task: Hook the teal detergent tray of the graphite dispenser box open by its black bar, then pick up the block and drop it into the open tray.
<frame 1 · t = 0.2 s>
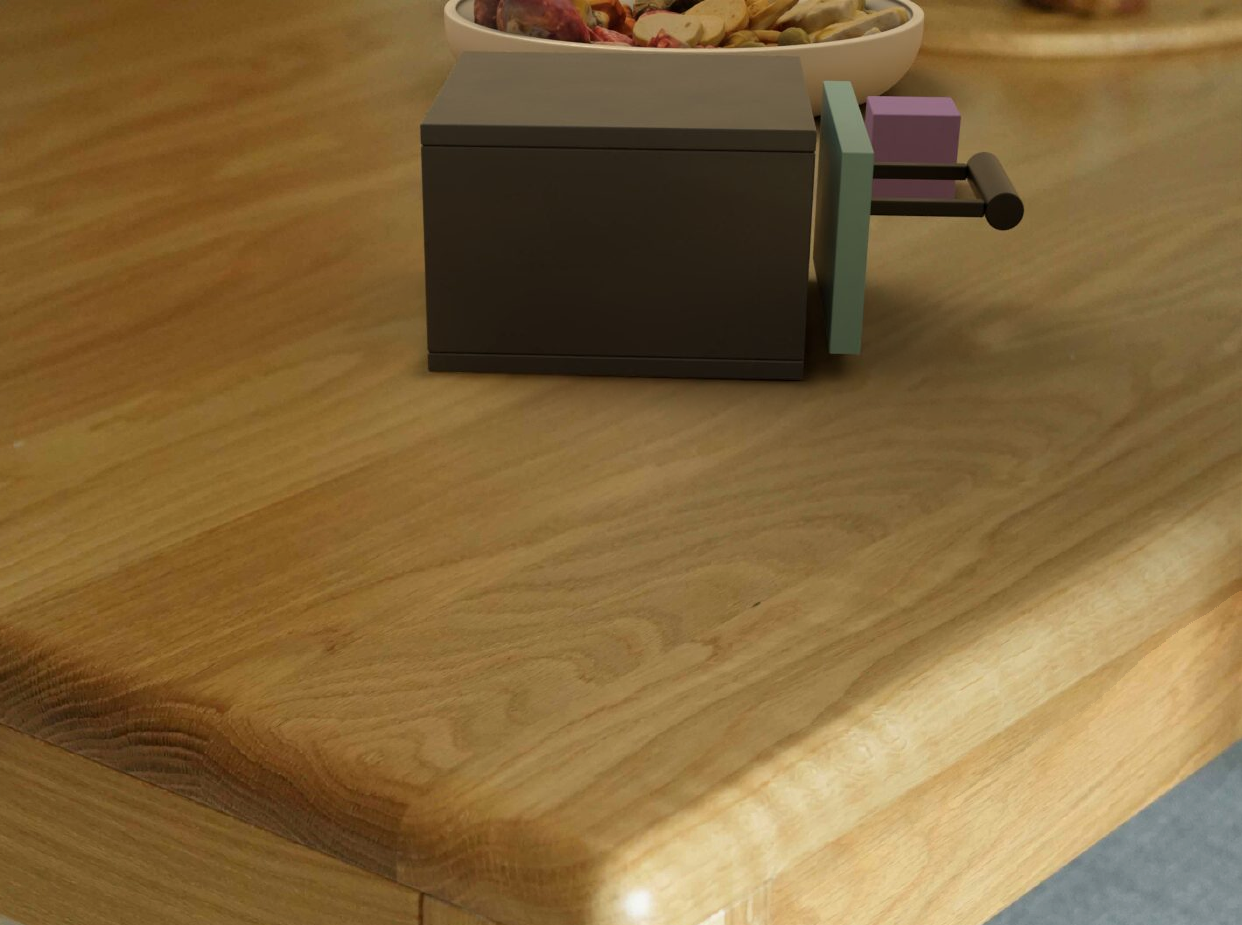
drawer: (766, 209, 82), point 5 cm above the table, slide at 1.0 cm
block: (906, 190, 104), on the table
bowl: (681, 90, 128), on the table
cabinet: (621, 319, 84), on the table
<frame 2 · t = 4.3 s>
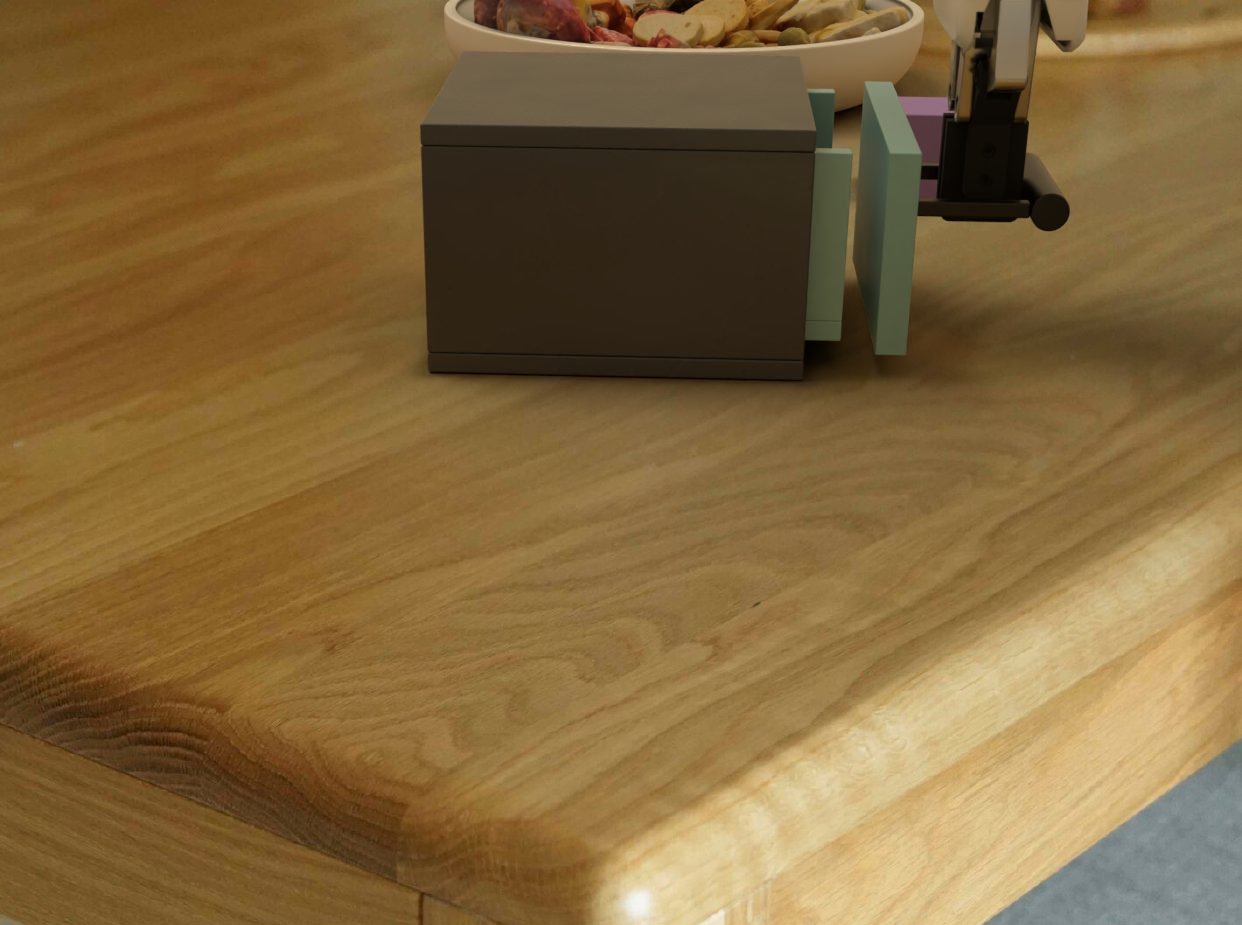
hand: (976, 215, 81), 5 cm above the table, tool pointing down, fingers closed
drawer: (809, 210, 82), point 5 cm above the table, slide at 2.8 cm
everything else where it was.
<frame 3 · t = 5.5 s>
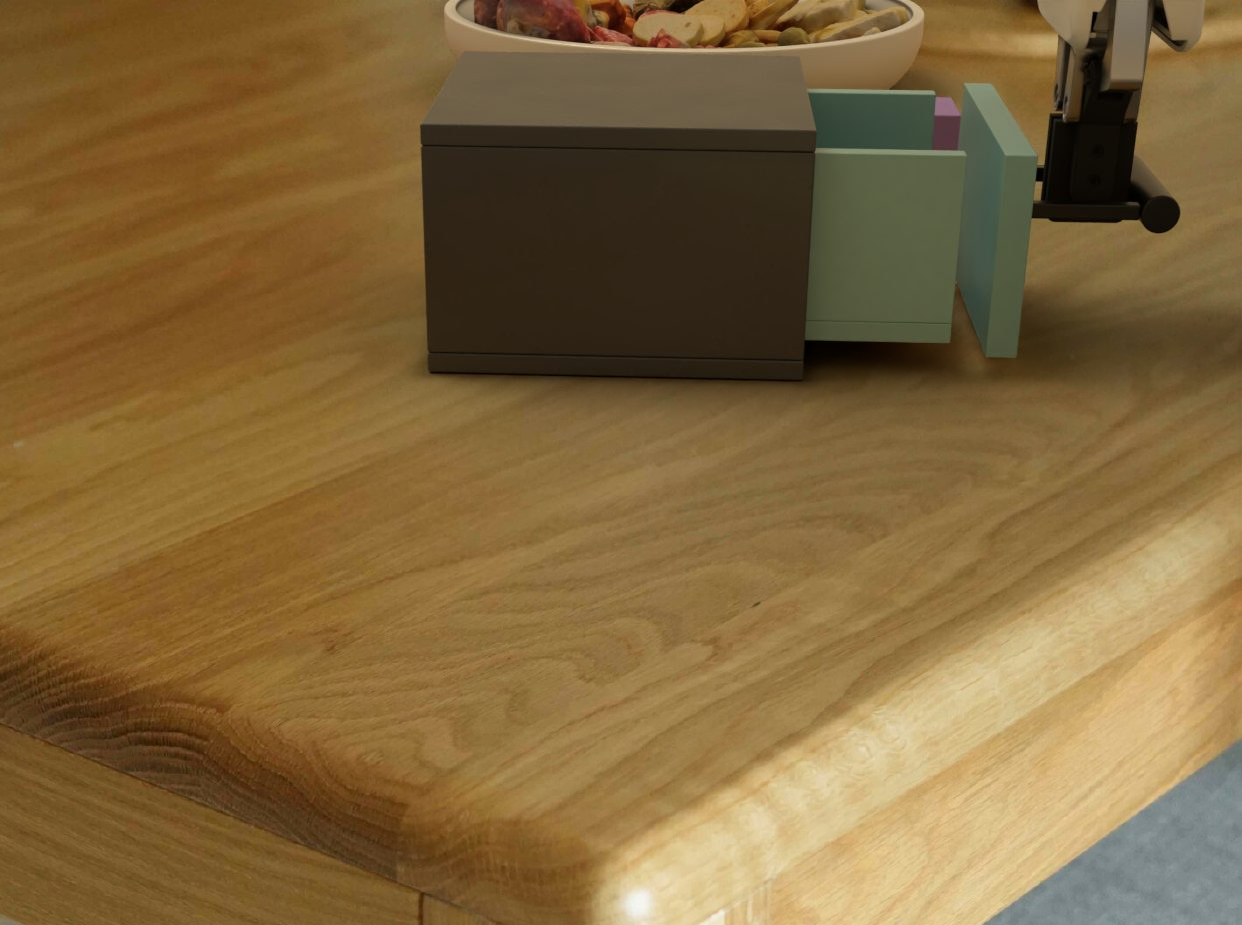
hand: (1081, 216, 81), 5 cm above the table, tool pointing down, fingers closed
drawer: (914, 212, 81), point 5 cm above the table, slide at 7.0 cm, touching gripper
everything else where it was.
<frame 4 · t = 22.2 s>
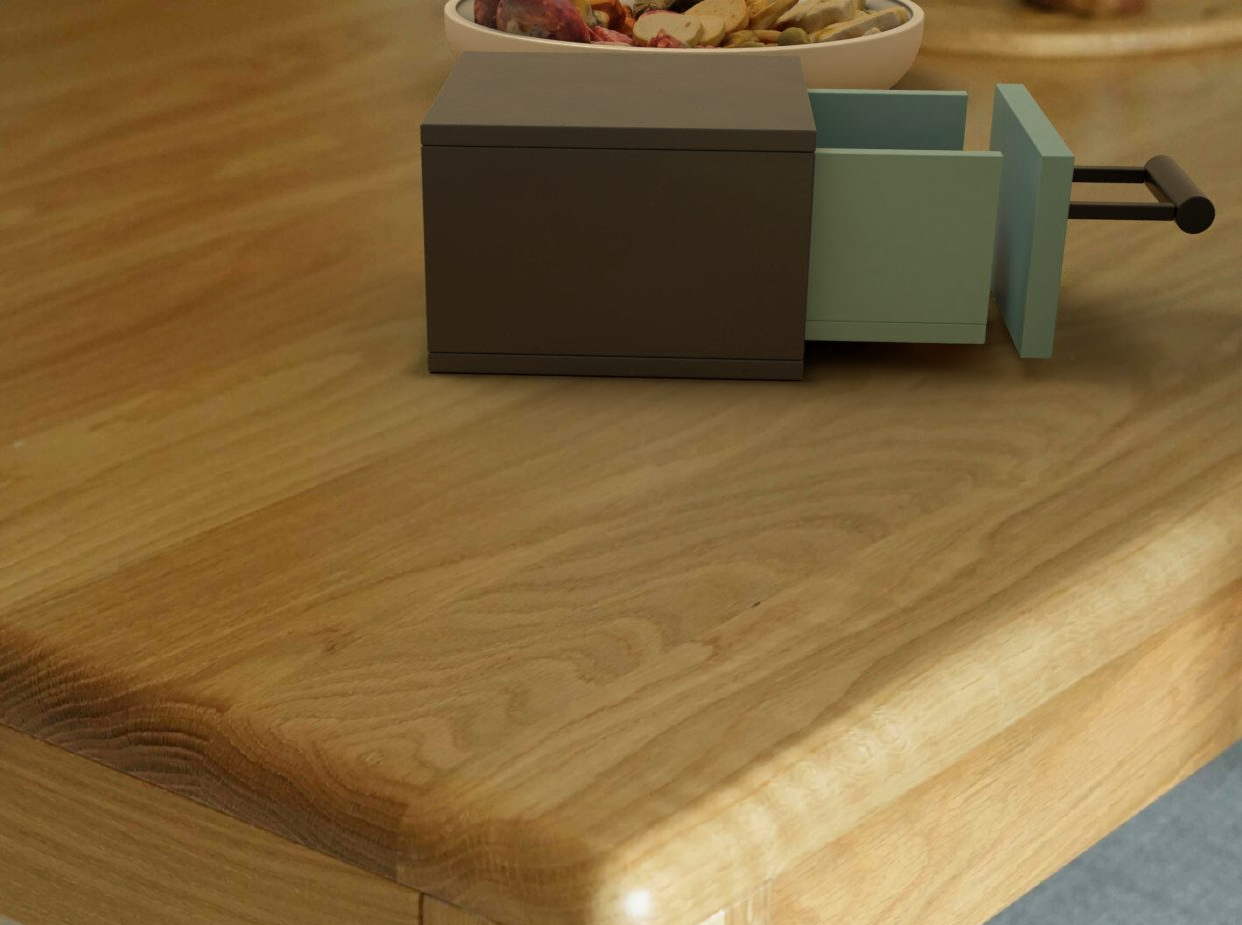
drawer: (947, 212, 81), point 5 cm above the table, slide at 8.4 cm, touching block
block: (908, 279, 83), point 2 cm above the table, touching drawer
everything else where it was.
at the end: drawer slide at 8.4 cm; block inside the target area in the drawer (3.4 cm from its centre), point 2.0 cm above the cabinet's base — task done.
